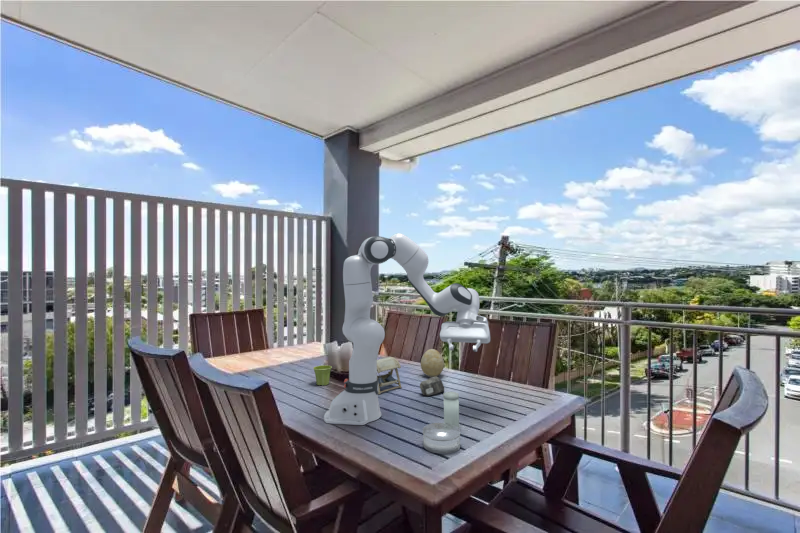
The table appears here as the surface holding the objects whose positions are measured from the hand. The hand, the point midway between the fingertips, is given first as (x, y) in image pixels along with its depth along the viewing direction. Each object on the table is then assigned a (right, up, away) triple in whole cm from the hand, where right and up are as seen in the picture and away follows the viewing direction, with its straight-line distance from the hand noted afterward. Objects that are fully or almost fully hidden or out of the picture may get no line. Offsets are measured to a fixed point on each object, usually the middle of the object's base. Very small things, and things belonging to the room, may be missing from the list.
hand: (462, 350), depth 147 cm
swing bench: (-32, -27, +36) cm, 55 cm away
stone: (-9, -27, +29) cm, 41 cm away
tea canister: (-6, -26, -10) cm, 29 cm away
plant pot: (-65, -28, +46) cm, 84 cm away
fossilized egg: (-7, -28, +58) cm, 64 cm away
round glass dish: (-11, -26, -24) cm, 37 cm away
